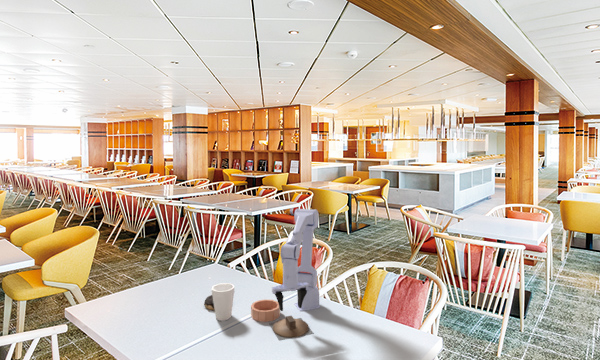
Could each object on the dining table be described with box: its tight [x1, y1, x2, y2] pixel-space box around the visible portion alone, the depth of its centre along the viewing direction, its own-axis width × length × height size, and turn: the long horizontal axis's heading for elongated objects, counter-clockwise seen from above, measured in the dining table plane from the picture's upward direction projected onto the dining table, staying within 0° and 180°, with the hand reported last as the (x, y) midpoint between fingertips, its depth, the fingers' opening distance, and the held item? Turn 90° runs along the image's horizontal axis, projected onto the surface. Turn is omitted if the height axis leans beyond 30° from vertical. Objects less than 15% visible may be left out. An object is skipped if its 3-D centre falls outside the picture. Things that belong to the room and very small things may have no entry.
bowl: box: [250, 299, 281, 323], centre depth 159 cm, size 12×12×4 cm
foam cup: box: [211, 282, 235, 322], centre depth 157 cm, size 10×9×13 cm
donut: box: [203, 294, 215, 311], centre depth 170 cm, size 11×12×4 cm
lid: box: [272, 315, 309, 338], centre depth 147 cm, size 14×14×4 cm
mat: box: [268, 317, 315, 341], centre depth 147 cm, size 14×14×1 cm
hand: (290, 308), depth 146 cm, fingers open, 7 cm apart
